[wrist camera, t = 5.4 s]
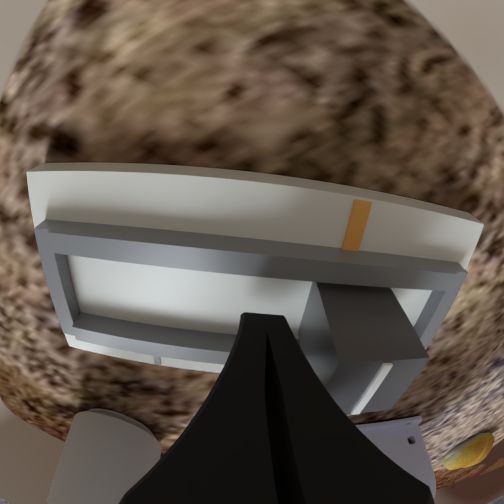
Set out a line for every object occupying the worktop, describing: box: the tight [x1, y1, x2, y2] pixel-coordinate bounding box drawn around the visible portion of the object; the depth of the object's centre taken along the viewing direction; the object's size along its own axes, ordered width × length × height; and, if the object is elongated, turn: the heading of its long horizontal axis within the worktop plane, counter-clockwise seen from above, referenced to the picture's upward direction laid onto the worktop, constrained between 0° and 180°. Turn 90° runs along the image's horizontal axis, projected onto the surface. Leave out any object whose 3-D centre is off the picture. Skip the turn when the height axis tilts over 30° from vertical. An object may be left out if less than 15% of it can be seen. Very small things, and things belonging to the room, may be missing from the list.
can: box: [47, 408, 161, 504], centre depth 14 cm, size 8×8×12 cm
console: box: [27, 162, 484, 373], centre depth 11 cm, size 18×9×2 cm, turn 83°
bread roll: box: [443, 432, 494, 470], centre depth 26 cm, size 8×9×4 cm
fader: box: [298, 282, 429, 415], centre depth 10 cm, size 3×3×4 cm
